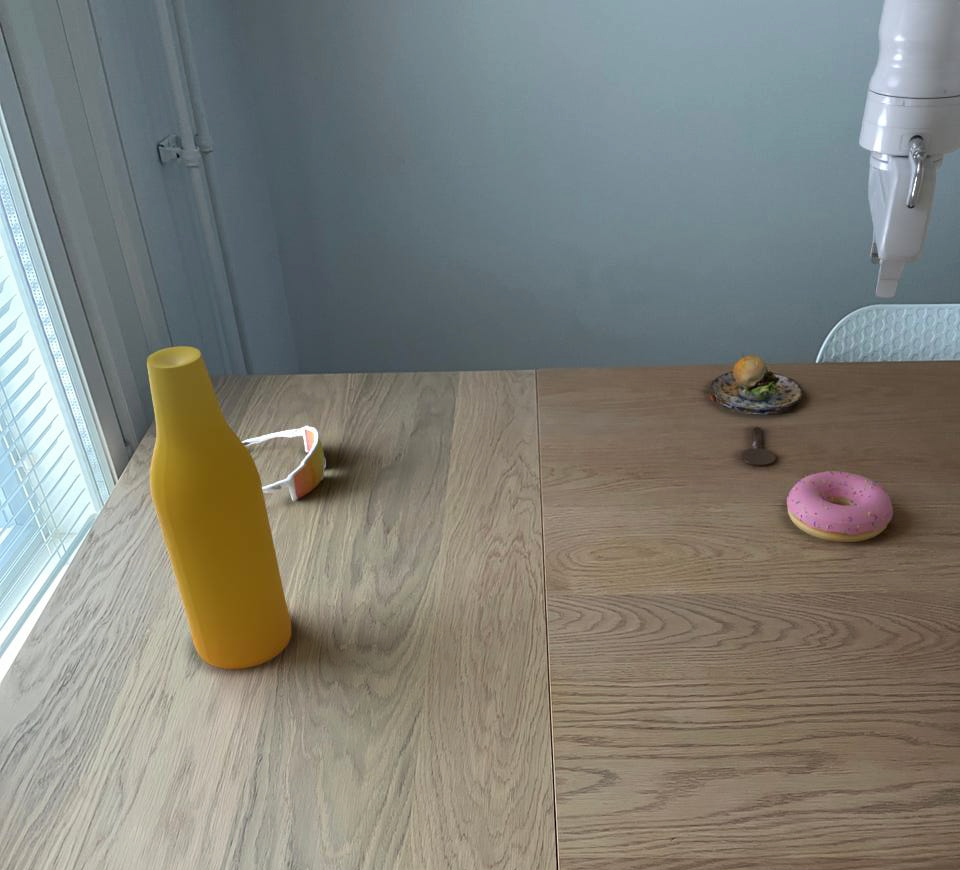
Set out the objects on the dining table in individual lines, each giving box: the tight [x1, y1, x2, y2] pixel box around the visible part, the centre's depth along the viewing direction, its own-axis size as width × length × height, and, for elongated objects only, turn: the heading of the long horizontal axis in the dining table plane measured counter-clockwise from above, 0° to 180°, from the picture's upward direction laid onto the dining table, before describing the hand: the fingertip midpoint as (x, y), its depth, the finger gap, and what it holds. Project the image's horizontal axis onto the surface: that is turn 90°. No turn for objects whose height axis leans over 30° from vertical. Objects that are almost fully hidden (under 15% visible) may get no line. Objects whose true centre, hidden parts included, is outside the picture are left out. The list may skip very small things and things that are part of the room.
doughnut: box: [786, 469, 894, 543], centre depth 105 cm, size 11×11×4 cm
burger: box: [709, 348, 804, 416], centre depth 128 cm, size 12×12×8 cm
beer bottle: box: [146, 345, 292, 670], centre depth 85 cm, size 9×9×29 cm
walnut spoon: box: [740, 426, 777, 468], centre depth 119 cm, size 4×10×1 cm, turn 169°
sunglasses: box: [242, 425, 327, 502], centre depth 118 cm, size 14×15×5 cm
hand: (881, 277), depth 98 cm, fingers open, 8 cm apart
